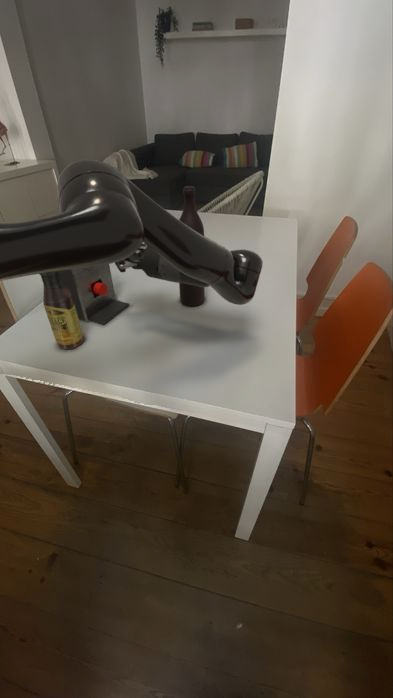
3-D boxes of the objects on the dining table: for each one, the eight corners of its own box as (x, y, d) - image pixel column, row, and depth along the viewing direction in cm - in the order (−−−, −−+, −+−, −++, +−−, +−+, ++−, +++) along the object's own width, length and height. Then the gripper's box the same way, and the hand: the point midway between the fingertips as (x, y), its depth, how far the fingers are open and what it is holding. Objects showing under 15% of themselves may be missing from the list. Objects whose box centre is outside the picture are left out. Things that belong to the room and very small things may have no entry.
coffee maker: (130, 305, 91) (118, 233, 78) (102, 326, 82) (84, 250, 70) (82, 292, 97) (64, 224, 85) (52, 310, 89) (27, 238, 77)
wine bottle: (187, 293, 96) (183, 182, 77) (208, 298, 93) (209, 185, 75) (175, 303, 91) (168, 188, 72) (197, 309, 88) (195, 191, 70)
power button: (108, 292, 86) (106, 281, 84) (100, 297, 83) (98, 286, 81) (102, 291, 86) (100, 280, 84) (94, 296, 84) (92, 285, 82)
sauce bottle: (52, 347, 76) (21, 269, 64) (70, 333, 80) (45, 257, 68) (73, 353, 74) (45, 274, 61) (91, 339, 78) (68, 262, 66)
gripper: (183, 236, 71) (121, 226, 78) (150, 257, 62) (83, 244, 68) (184, 268, 76) (126, 256, 82) (154, 291, 67) (91, 276, 73)
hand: (106, 250), depth 75 cm, fingers closed
